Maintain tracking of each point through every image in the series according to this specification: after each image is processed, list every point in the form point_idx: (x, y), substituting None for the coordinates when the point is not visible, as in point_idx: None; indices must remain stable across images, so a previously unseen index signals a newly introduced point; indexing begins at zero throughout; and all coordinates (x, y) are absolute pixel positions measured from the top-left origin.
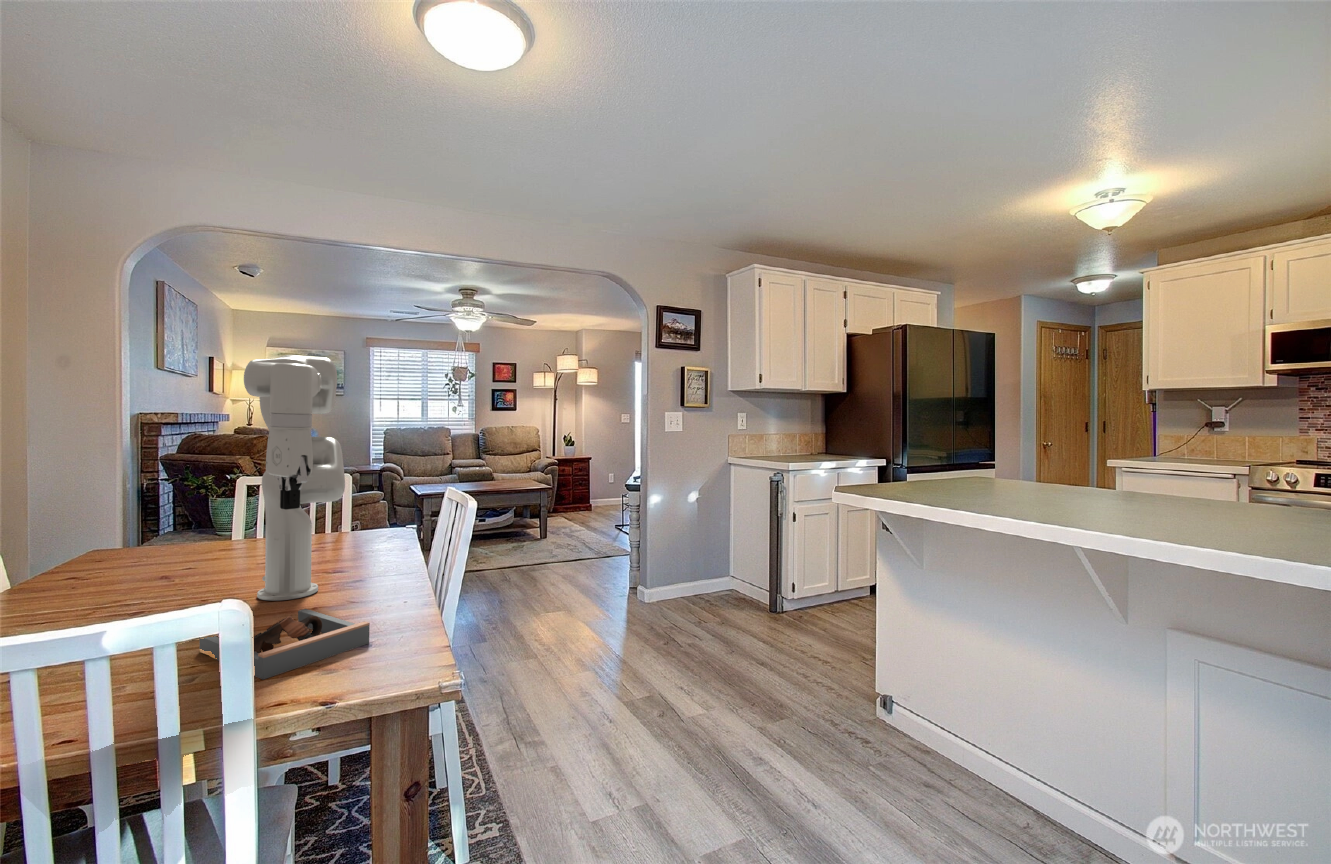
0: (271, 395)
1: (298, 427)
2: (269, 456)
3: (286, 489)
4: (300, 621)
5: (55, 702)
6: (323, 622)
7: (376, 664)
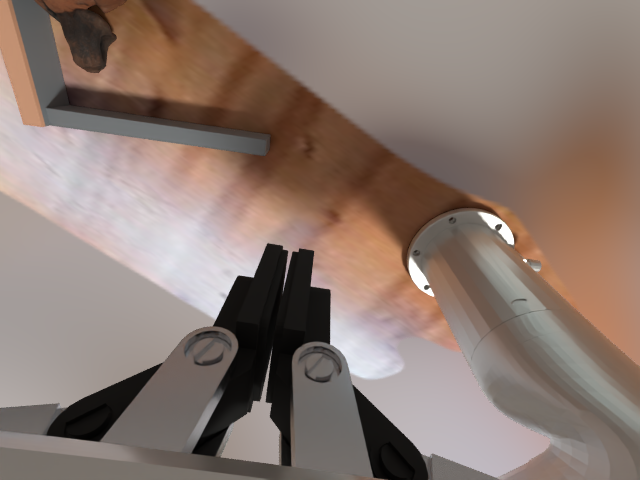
0: None
1: None
2: None
3: (229, 342)
4: (72, 14)
5: None
6: (173, 124)
7: None
